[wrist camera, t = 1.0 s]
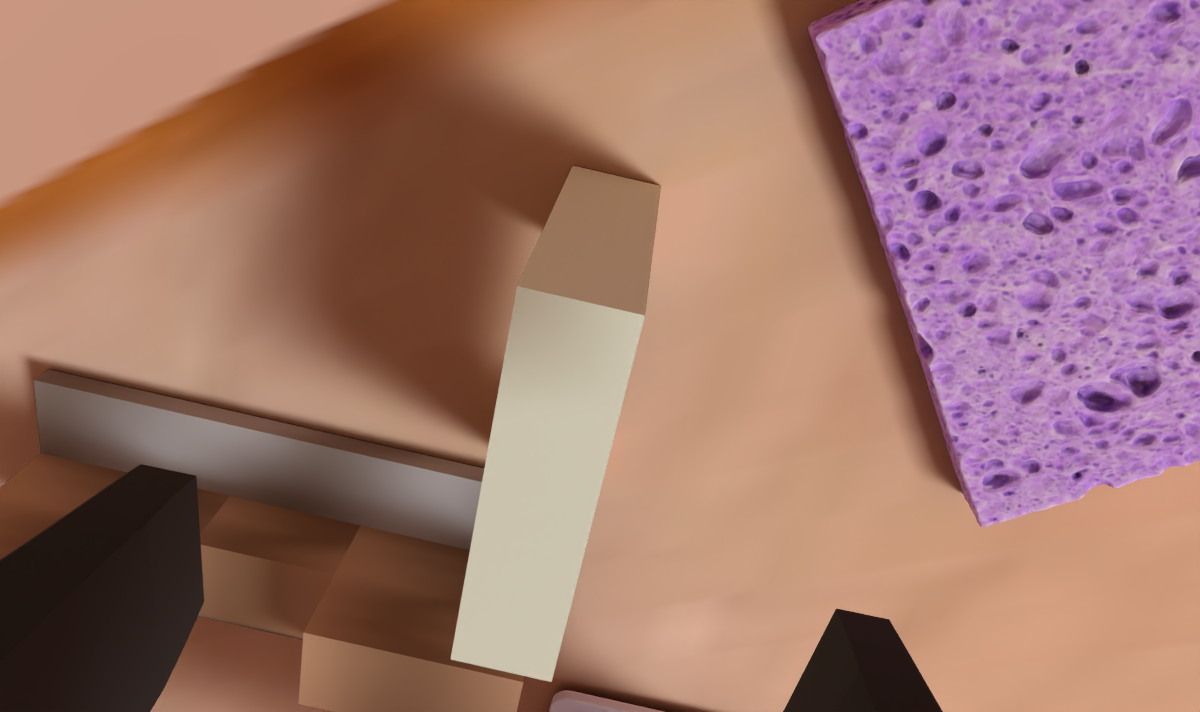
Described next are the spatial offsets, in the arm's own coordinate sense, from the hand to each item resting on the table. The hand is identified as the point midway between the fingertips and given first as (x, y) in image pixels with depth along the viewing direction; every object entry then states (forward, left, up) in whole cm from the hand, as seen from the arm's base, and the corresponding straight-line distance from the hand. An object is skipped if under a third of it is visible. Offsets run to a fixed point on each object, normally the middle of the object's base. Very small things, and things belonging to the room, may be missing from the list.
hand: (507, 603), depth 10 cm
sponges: (+3, -9, -13) cm, 16 cm away
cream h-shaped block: (-2, 0, -12) cm, 12 cm away
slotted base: (-10, +7, -12) cm, 17 cm away
